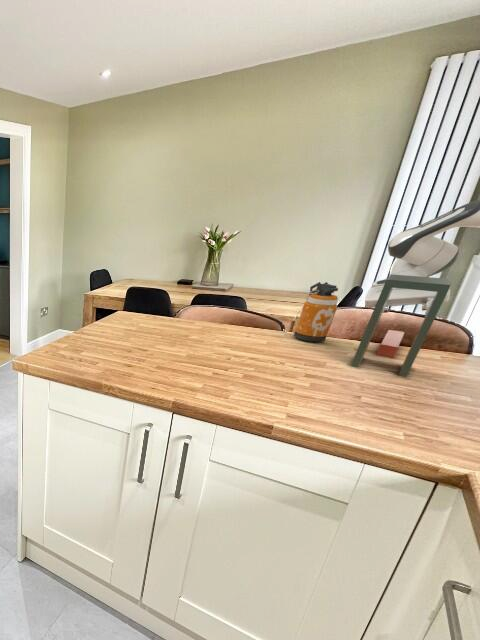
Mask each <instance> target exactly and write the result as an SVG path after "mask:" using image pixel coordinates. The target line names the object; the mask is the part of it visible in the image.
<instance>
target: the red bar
mask: <svg viewBox="0 0 480 640" xmlns="http://www.w3.org/2000/svg"><path fill="white" fill-rule="evenodd" d="M404 335H405V331H401V330H400V331H399V330H394V329H393V330H392V329H388V330H387V332H386V334H385V336H384V337H383V339H382V341H381V342H380V345H379V347H378V349H377V352H376V353H375V355H376V356H383V357H387V358H392V359H393V358H394V357H395V355H396V353H397V351H398V349H399V346H400V345H401V343H402V340H403V338H404Z"/></svg>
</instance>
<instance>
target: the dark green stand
mask: <svg viewBox="0 0 480 640" xmlns="http://www.w3.org/2000/svg"><path fill="white" fill-rule="evenodd" d="M385 279H386V282H385V284H384V287H383V289H382V291H381V294H380V296H379V299H378V301H377V303H376V306H375V307H373V311H372V313H371V316H370V318H369V321H368V323H367V325H366V328H365V329H364V332H363V335H362V336H361V337H362V338H361V339H360V342H359V344H358V347H357V348H356V349H357V350H356V352H355V354H354V357H353V358H352V361H351V364H350V366H351V367H354V368H358V367H359V366H360V364H361V362H362V361H363V359H364V357H365V355H366V352H367V350H368V349H369V348H368V347H369V346H370V343H371V341H372V339H373V336H374V334H375V332H376V329H377V327H378V324H379V322H380V320H381V317H382V315H383V314H384V313H383V310H384V308H385V306H386V303H387V301H388V299H389V296H390V294H391V292H392V289H393V288H403V289H413V290H424V291H434V292H437V293H436V295H435V297H434V299H433V301H432V303H431V306H430V307H429V309H428V310H427V312H426V314H425V316H424V318H423V320H422V322H421V325H420V327H419V329H418V330H417V333H416V335H415V338H414V339H413V341H412V344H411V345H410V347H409V350H408V352H407V354H406V356H405V358H404V360H403V362H402V364H401V367H400V370H399V373H398V376H399V377H404V378H407V377H408V374H409V372H410V370H411V368H412V366H413V364H414V362H415V360H416V358H417V356H418V355H419V352H420V350H421V349H422V345H423V344H424V342H425V340H426V338H427V336H428V334H429V331H430V329H431V328H432V325H433V323H434V321H435V319H436V317H437V315H438V313H439V311H440V309H441V307H442V304H443V303H444V302H443V301H444V299H445V296H446V294H447V292H448V290H449V288H450V286H451V287H452V282H453V279H452V278H443V277H432V276H429V277H419V276H407V275H394V274H391V275H390V274H389V276H388V277H387V278H385Z"/></svg>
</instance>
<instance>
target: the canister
mask: <svg viewBox="0 0 480 640" xmlns="http://www.w3.org/2000/svg"><path fill="white" fill-rule="evenodd" d="M309 288H310V289H309V292H308V293H309V295H308V296H307V300H306V301H305V302H304V304H303V306H302V310H301V312H300V315H299V318H298V321H297V325H296V327H295V331H294V333H293V336H294V337H295V338H297V339H298V340H300V341H304V342H308V343H319V342H324V341H326V339H327V336H328V334H329V331H330V329H331V325H332V324H333V321H334V318H335V314H336V313H337V309H338V305H337V303H338V300H339V297H338V296H337V295H335V294H334V293H335V292H338V291H339V288H338V286H337V285H334V284H330V283H328V281H326V282H324V283H321V281H319V282H317V283H315V284H313V285H311V286H310V287H309ZM314 288H315V289H314Z"/></svg>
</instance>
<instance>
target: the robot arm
mask: <svg viewBox="0 0 480 640" xmlns="http://www.w3.org/2000/svg"><path fill="white" fill-rule="evenodd" d="M461 227H462V228H463V227H469V228H480V199H479V200H472V201H470V202H467V203H465V204H462V205H460V206H458V207H456V208H453V209H451V210H450V211H447V212H445V213H443V214H441V215H439V216H437V217H435V218H432V219H430V220H428V221H425V222H424V223H421V224H419V225H417V226H414V227H411V228H408V229H405V230H403V231H401V232H399V233H397V234H396V235H395V236H394V237H392V238H391V239H390V241H389V243H388V244H387V251H388V255H389V256H390V257H392V258H396V259H395V260H394V261H393V263H392V265H391V267H390V270H389V276H390V275H391V274H394V275H407V276H419V277H432V276H435V275H438V274H440V273H442V272H445V271H446V270H447V269H449V268H451V267H452V266H453V265H454V264H455V262H457V259H458V257H459V255H460V248H459V246H458V245H456V244H453V243H452V242H449V241H447V240H444V239H441V238H439V237H437V236H438V235H440V234H442V233H444V232H447V231H450V230H451V229H456V228H461ZM386 279H387V278H384V279H380V280H377V281H373V282H372V284H371V287H370V288H369V289H368V290H367V292H366V295H365V299H364V306H365V307H366V308H367V309H371V308H373V309H374V308H375V306H376V303H377V301H378V299H379V296H380V294H381V291H382V289H383V287H384V284H385V282H386ZM451 289H452V285H451V286H450V288H449V290H448V292H447V294H446V296H445V299H444V301H443V303H447V302H449V301H450V299H451ZM436 293H437V292H434V291H424V290H413V289H403V288H393V289H392V292H391V294H390V296H389V299H388V301H387V303H386V306H385V308H384V310H383V313H382V314H387V313H388V312H389V307H400V306H414V305H421V311H428V310H429V308H430V306H431V303H432V301H433V299H434V297H435V295H436Z"/></svg>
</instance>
